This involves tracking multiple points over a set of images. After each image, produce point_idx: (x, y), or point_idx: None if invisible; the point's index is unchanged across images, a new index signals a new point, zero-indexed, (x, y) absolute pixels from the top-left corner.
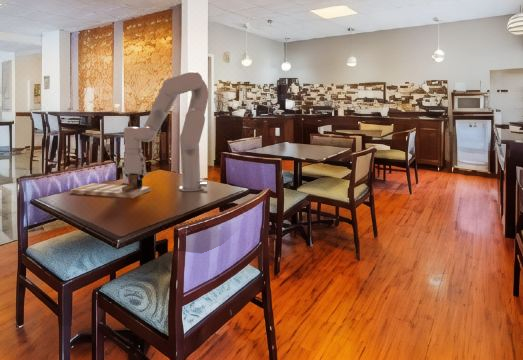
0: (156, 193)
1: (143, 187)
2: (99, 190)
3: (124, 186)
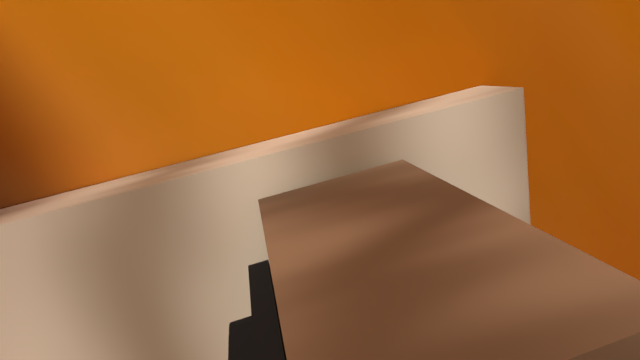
0: (629, 163)
1: (440, 178)
2: None
3: (48, 313)
